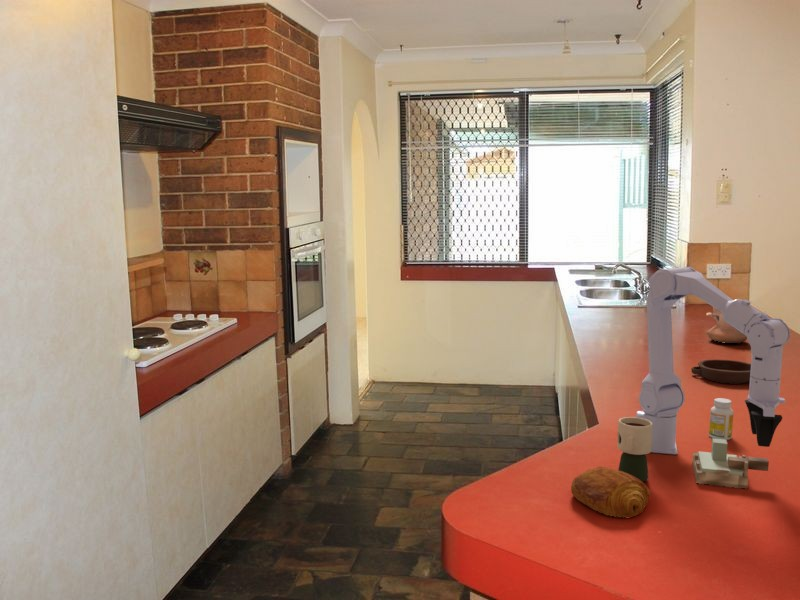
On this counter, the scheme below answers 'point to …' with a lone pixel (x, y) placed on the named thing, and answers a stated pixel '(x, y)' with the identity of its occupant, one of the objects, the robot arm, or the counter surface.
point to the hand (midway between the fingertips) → (760, 439)
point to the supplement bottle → (721, 419)
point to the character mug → (634, 445)
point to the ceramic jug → (724, 330)
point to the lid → (717, 458)
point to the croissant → (611, 492)
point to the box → (720, 475)
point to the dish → (724, 371)
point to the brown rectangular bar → (749, 463)
